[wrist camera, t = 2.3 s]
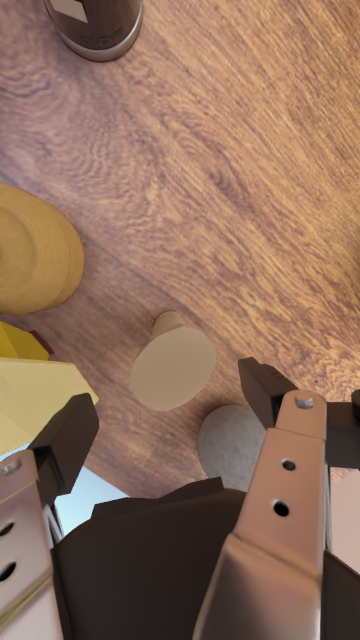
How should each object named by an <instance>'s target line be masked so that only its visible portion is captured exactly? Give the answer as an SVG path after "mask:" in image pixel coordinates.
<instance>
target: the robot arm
mask: <svg viewBox="0 0 360 640" xmlns="http://www.w3.org/2000/svg"><path fill="white" fill-rule="evenodd" d="M44 3H45V6H46V9H47V11H48V14H49V16H50V18H51V20H52V22H53V25H54V27H55V29H56V30H57V32H58V34H59V35H60V37H61V38H62V39H63V41H64V42H65V43H66V44H67V45H68V46H69V47H70V48H71V49H72V50H73V51H75V52H76V53H77V54H79V55H81V56H83V57H85V58H87V59H90V60H95V61H108V60H112V59H115V58H117V57H119V56H121V55H122V54H124V53H125V52H126V51H127V50H128V49H129V48H130V47H131V46H132V44H133V43H134V41H135V40H136V38H137V36H138V34H139V31H140V28H141V24H142V18H143V0H44ZM238 367H239V374H240V380H241V386H242V391H243V394H244V396H245V398H246V400H247V402H248V403H249V405H250V406H251V408H252V410H253V411H254V413H255V414H256V416H257V417H258V419H259V421H260V422H261V424H262V425H263V427H264V429H265V430H266V435H265V438H264V441H263V444H262V447H261V450H260V453H259V456H258V459H257V462H256V465H255V469H254V472H253V475H252V478H251V481H250V484H249V487H248V490H247V492H245V491H241V490H238V489H233V488H224V486H223V482H222V478H221V476H219V477H214V478H210V479H205V480H201V481H196V482H192V483H189V484H187V485H185V486H183V487H181V488H179V489H177V490H175V491H173V492H171V493H169V494H167V495H165V496H163V497H161V498H158V499H147V498H129V497H125V498H121V499H117V500H112V501H108V502H103V503H99V504H95V506H94V509H93V512H92V516H91V518H90V519H89V520H87V521H85V522H84V523H82V524H80V525H79V526H77V527H76V528H75V529H73V530H72V531H71V532H70V533H68V534H67V535H66V536H65V537H64V533H63V529H62V526H61V522H60V518H59V515H58V511H57V508H56V505H55V503H54V501H55V499H56V497H57V496H61V495H65V494H70V493H71V491H72V488H73V486H74V484H75V482H76V479H77V477H78V475H79V472H80V470H81V468H82V466H83V464H84V461H85V459H86V457H87V455H88V452H89V450H90V448H91V445H92V443H93V441H94V439H95V436H96V434H97V432H98V429H99V419H98V415H97V412H96V409H95V406H94V403H93V400H92V397H91V395H90V394H89V393H88V392H87V393H82V394H78V395H73V396H72V397H71V398H70V399H69V401H68V402H67V403H66V405H65V406H64V407H63V408H62V409H60V410H59V411H58V412H57V413H55V414H54V415H53V416H52V418H51V419H50V420H49V421H48V424H46V425H45V426H44V428H43V430H41V431H40V432H39V434H38V435H37V436H36V437H35V439H34V440H33V441H32V442H31V444H30V445H29V446H28V447H27V449H26V450H22V451H18V452H16V453H14V454H12V455H10V456H8V457H7V458H5V459H4V460H2V461H1V462H0V640H360V574H358V573H357V572H356V571H354V570H353V569H352V568H351V567H349V566H348V565H347V564H345V563H344V562H343V561H341V560H340V559H339V558H338V557H336V556H335V555H334V554H332V526H331V467H340V468H352V469H358V470H359V471H360V389H359V390H356V391H354V392H353V393H352V395H351V401H352V402H326V400H325V399H324V398H323V397H322V396H321V395H319V394H317V393H315V392H312V391H308V390H300V389H298V388H297V387H296V386H295V385H294V384H293V383H292V382H290V381H289V380H288V379H287V378H286V377H284V376H283V375H282V374H281V373H280V372H279V371H278V370H277V369H275V368H274V367H272V366H270V365H267V364H261V365H260V364H259V363H258V362H257V361H256V360H255V359H254V358H253V357H249V358H244V359H240V360H238Z"/></svg>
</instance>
